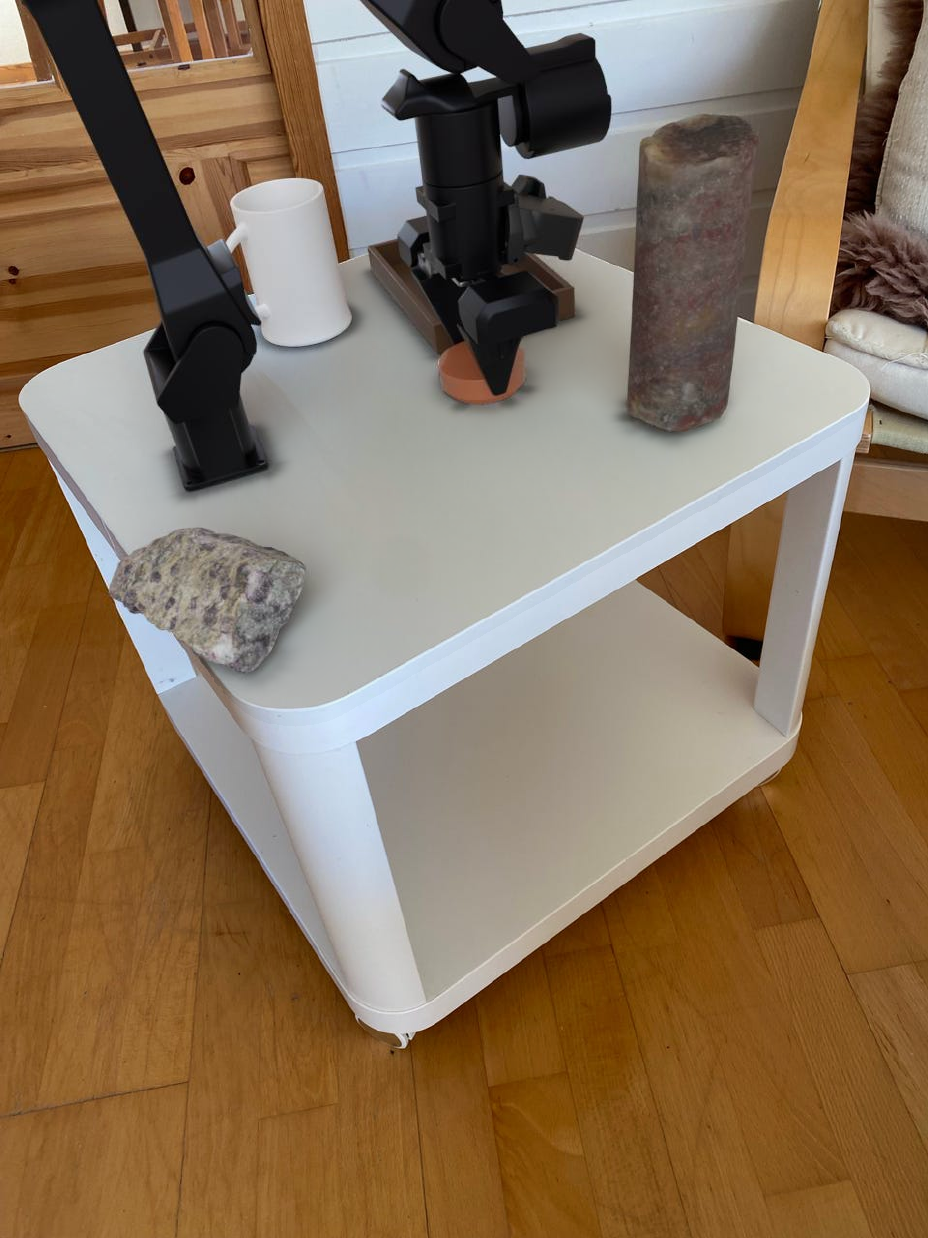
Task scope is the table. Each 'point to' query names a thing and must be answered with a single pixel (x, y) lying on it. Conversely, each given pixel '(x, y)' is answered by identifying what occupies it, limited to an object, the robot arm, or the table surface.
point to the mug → (291, 261)
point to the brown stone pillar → (689, 267)
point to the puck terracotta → (474, 376)
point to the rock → (212, 593)
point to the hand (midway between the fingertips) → (482, 373)
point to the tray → (416, 305)
